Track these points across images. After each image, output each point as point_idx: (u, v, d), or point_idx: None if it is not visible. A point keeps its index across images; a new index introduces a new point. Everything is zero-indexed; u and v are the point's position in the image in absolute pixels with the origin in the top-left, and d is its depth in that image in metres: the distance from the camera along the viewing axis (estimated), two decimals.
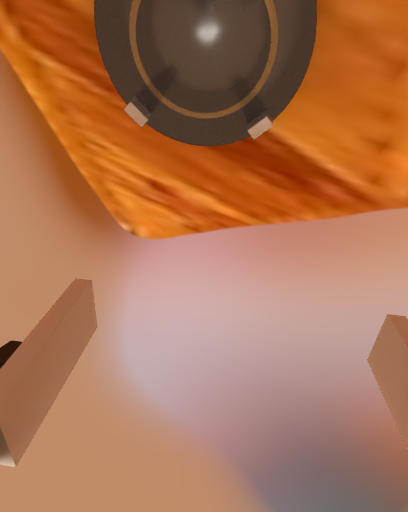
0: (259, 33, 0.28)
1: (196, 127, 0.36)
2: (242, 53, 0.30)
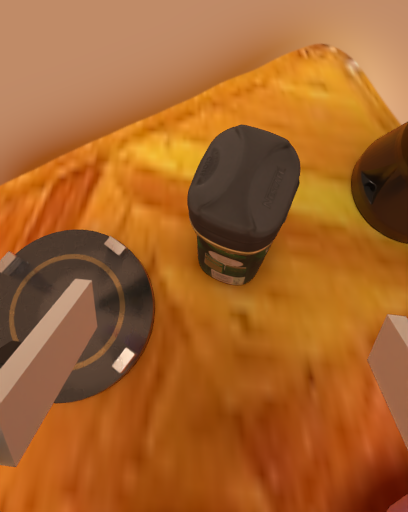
0: None
1: (0, 317, 0.38)
2: None
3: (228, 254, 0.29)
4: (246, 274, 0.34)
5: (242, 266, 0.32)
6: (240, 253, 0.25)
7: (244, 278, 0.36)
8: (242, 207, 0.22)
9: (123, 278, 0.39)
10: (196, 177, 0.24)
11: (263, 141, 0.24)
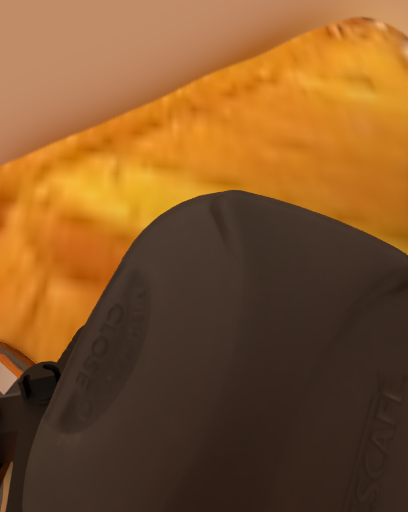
0: None
1: None
2: None
3: None
4: None
5: None
6: None
7: None
8: None
9: None
10: (65, 387, 0.07)
11: (316, 264, 0.06)
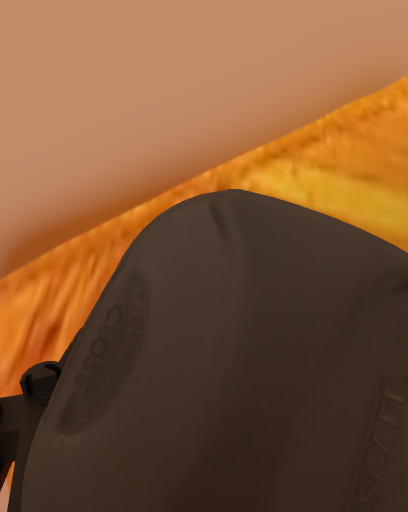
0: None
1: None
2: None
3: None
4: None
5: None
6: None
7: None
8: None
9: None
10: (64, 387, 0.06)
11: (318, 263, 0.06)
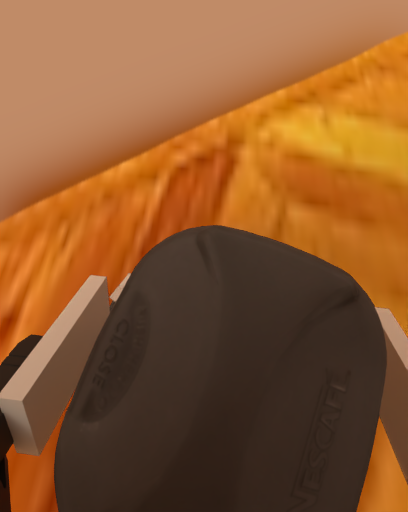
0: None
1: None
2: None
3: None
4: None
5: None
6: None
7: None
8: None
9: None
10: (84, 386, 0.08)
11: (279, 286, 0.08)
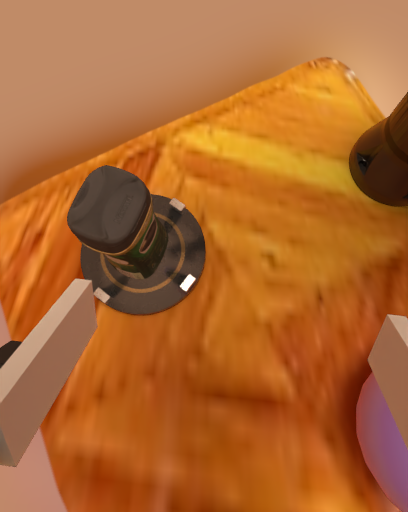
0: (154, 279, 0.50)
1: (93, 256, 0.52)
2: None
3: (111, 255, 0.40)
4: (139, 270, 0.45)
5: (129, 264, 0.42)
6: (109, 254, 0.36)
7: (140, 273, 0.47)
8: (98, 223, 0.33)
9: (183, 228, 0.53)
10: (74, 202, 0.35)
11: (117, 177, 0.35)
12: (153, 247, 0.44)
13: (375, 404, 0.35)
